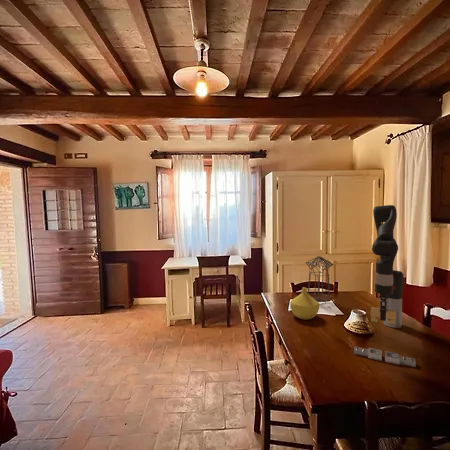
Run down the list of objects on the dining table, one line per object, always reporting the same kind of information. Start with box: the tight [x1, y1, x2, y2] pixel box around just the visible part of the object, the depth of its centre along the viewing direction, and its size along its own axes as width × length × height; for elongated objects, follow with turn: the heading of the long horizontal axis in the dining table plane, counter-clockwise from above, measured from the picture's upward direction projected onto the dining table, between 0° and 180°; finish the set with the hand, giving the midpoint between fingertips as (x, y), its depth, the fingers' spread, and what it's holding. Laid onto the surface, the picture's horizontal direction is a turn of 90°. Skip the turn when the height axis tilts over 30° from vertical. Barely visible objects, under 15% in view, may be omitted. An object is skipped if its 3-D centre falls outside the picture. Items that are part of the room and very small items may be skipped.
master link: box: [370, 306, 396, 325], centre depth 134 cm, size 3×10×6 cm, turn 60°
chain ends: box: [353, 346, 417, 368], centre depth 133 cm, size 6×25×3 cm, turn 61°
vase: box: [289, 286, 320, 320], centre depth 185 cm, size 18×18×19 cm
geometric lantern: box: [305, 255, 334, 306], centre depth 212 cm, size 16×16×35 cm
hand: (382, 318), depth 134 cm, fingers closed on master link, 3 cm apart
